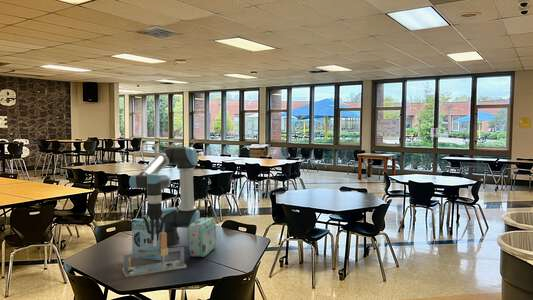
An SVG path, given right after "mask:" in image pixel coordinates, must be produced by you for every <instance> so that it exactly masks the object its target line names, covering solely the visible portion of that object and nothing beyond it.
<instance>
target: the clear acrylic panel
mask: <svg viewBox="0 0 533 300" xmlns="http://www.w3.org/2000/svg"><path fill="white" fill-rule="evenodd" d="M173 252H174V253H175V252H179V260H180V263H181V264H182V263H185V246H178V247H172V248H171V247H168V253H173ZM153 254H160V250H154V251H146V252H139V253H132V252H131V253H125V254H123V255H122V257H123V259H122V260H123V261H122V262H123V269H124V272H128V268H129V271H131V267H132V266H131V265H132V264H131V262H132V261H131V258H133V257H138V256H145V255H153Z"/></svg>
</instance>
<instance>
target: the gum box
mask: <svg viewBox="0 0 533 300" xmlns="http://www.w3.org/2000/svg"><path fill="white" fill-rule="evenodd" d="M147 221H148V225H149V229H150V231H151V221H150V218H147ZM160 223H161V220H159V228H160ZM162 232H165V229H164V225H163V230H162ZM154 233H156V228H155V220H154ZM160 233H161V232H160ZM160 233H159V239H158V240H157V246H155V247H154V246H153V240H151V234H149V233H148V232H147V229H146V225H145V221H144V219H143V218H137V217H135V218H133V219H131V241H132V243H131V248H132V252H131V253H139V252H146V251H154V250H159V247H160ZM133 258H135V259H144V260H151V261H152V260H153V261H163V256H160V254H153V255H145V256H138V257H132V259H133ZM165 259H166V255H164V260H165Z"/></svg>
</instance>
